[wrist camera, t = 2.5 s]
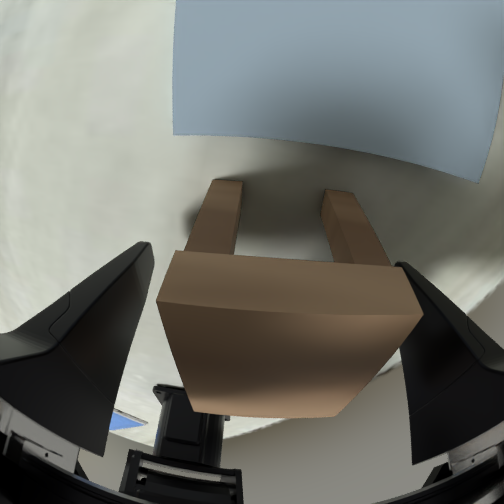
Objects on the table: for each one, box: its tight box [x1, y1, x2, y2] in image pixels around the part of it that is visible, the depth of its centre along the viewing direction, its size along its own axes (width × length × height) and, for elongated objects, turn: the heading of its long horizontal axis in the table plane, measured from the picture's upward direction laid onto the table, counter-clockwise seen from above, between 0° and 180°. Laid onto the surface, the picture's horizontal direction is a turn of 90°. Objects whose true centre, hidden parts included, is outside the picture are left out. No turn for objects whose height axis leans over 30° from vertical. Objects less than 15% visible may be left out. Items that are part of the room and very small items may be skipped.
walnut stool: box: [156, 180, 423, 418], centre depth 8 cm, size 6×5×6 cm
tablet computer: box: [109, 408, 147, 430], centre depth 32 cm, size 19×13×1 cm, turn 138°
